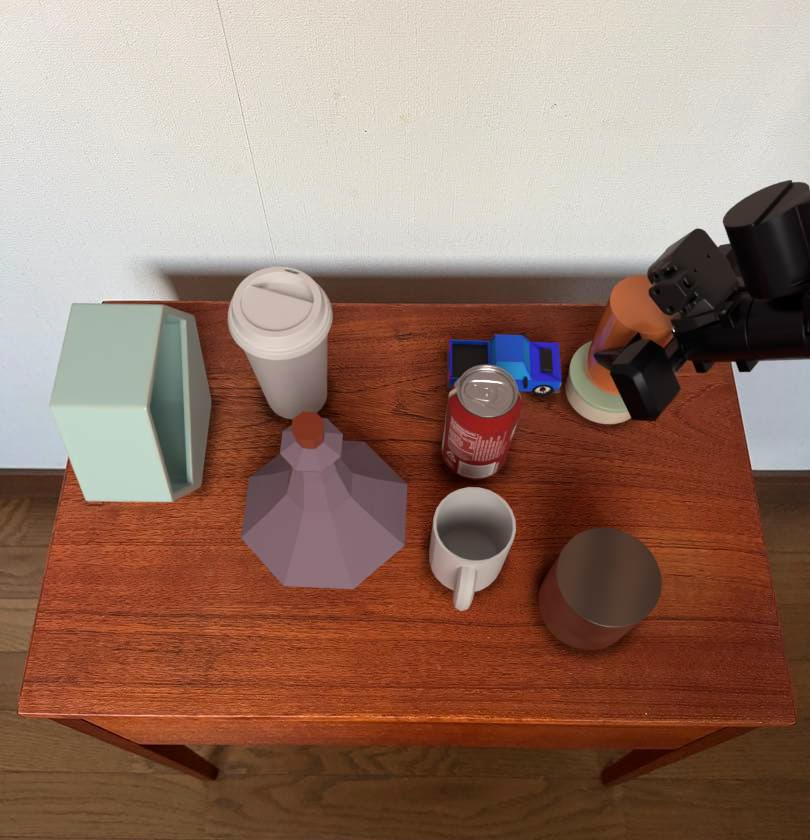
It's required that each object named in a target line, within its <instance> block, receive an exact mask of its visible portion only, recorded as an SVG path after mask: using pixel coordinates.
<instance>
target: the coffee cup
mask: <svg viewBox="0 0 810 840" xmlns="http://www.w3.org/2000/svg"><path fill="white" fill-rule="evenodd" d="M333 317H334V314H333V307H332V303H331V301H330V299H329V296H328V295H327V294H326V291H325V290H324V289H323V288H322V287H321V286H320V285H319V284H318V283H317V282H316V281H315V280H314V279H313V278H312V277H311V276H310V275H309V274H307V273H305V272H303V271H301V270H300V269H298V268H294V267H290V266H282V265H281V266H279V265H278V266H268V267H265V268H262V269H258V270H256V271H254V272H252V273H251V274H249V275H247V276H246V277H245V278H244V279H243V280H242V281H241V282H240V283H239V284H238V286H237V287H236V289H235V291H234V294H233V296H232V298H231V300H230V303H229V306H228V311H227V327H228V331H229V333H230V336H231V338H232V339H233V340H234V342H235V343H236V344H237V345H238V346H239V347H240V348H241V349H242V350H243V351H244V354H245V356H246V358H247V360H248V362H249V364H250V367H251V369H252V371H253V373H254V375H255V377H256V379H257V382H258V384H259V386H260V389H261V390H262V393H263V395H264V397H265V399H266V401H267V404H268V406H269V408H270V409H271V410H272V411H273V412H274V413H275V414H276V415H277V416H280V417H281V418H283V419H287V420H291V421H292V420H293V419H294V418H295V417H296V416H298V415H299V414H300V413H302V412H316V413H317V414H318V412H319V411H320V410H321V409H322V408H323V407H324V405H325V404H326V401H327V398H328V334H329V333H330V330H331V327H332V324H333Z"/></svg>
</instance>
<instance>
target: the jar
mask: <svg viewBox="0 0 810 840" xmlns="http://www.w3.org/2000/svg"><path fill="white" fill-rule="evenodd" d="M591 342H592V340H591V341H588V342H586V343H584V344H582V345H581V346H580V347H579V348H578V349H577V350H575V353H574V354H573V355H572V358H571V360H570V362H569V366H568V373H567V375H566V378H565V383H564V390H565V391H564V392H565V395H566V399H567V400H568V403H569V405H570V406H571V407H572V408H573V410H575V412H576V413H578V414H579V415H580V416H582V417H583V418H585V419H586V420H588V421H591V422H594V423H596V424H601V425H616V424H620V423H624V422H626V421H628V420H631V419H632V418H631V416H630V414H629V412H628V410H627V408H626V406H625V404H624V402H623V400H622V398H621V396H620V395H615V394H610V393H606V392H604V391H602V390H600V389H598V388H597V387H596V386H594V385H593V384H592V383H591V382H590V380H589V379H588V377H587V375H586V373H585V370H584V360H585V357H586V354H587V352H588V349H589V347H590V344H591Z"/></svg>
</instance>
